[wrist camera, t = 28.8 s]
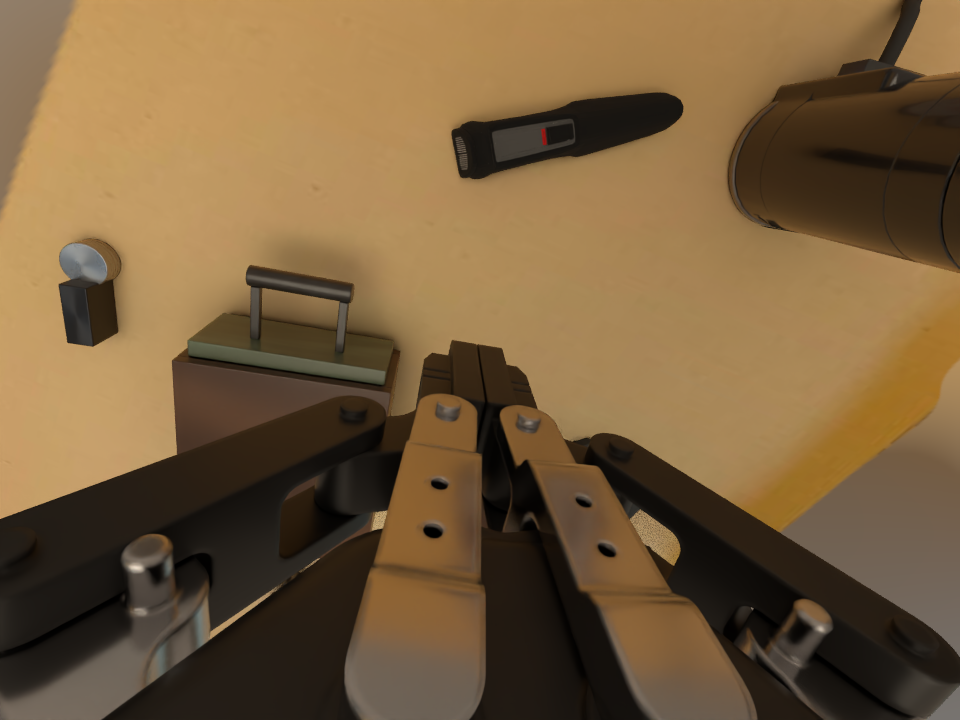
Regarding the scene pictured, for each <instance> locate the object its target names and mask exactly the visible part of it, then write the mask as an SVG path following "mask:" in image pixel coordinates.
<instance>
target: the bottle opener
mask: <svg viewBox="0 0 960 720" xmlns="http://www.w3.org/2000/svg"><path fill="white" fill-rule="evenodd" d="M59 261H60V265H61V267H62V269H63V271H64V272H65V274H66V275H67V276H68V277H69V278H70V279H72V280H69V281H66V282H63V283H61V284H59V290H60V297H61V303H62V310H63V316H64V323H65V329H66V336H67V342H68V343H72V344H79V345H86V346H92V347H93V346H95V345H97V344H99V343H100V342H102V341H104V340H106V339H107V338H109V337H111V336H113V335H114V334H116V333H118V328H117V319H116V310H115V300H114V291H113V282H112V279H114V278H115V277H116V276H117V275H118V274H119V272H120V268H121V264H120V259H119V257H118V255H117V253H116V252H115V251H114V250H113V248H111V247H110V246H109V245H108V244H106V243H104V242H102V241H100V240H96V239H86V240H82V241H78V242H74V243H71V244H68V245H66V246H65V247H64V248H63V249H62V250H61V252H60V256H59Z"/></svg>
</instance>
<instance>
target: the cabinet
mask: <svg viewBox="0 0 960 720" xmlns="http://www.w3.org/2000/svg"><path fill="white" fill-rule="evenodd" d="M399 357H400V351H397V350H393V353H392V357H391V361H390V365H389V369H388V373H387V377H386V380H385V384H384V385H379V386H374V385H368V384H361V383H354V382H348V381H341V380H334V379H328V378H321V377H314V376H308V375H301V374H295V373H288V372H281V371H275V370H268V369H261V368H255V367H248V366H242V365H235V364H228V363H222V362H215V361H214V360H213V359H207V358H200V357H193V356H188V348H187V349H185V350H184V351H183V352H182V353H180V354H179V355H178V356H177V357H176V358H174V359H173V360H172V371H173V388H174V406H175V424H176V441H177V455H178V454H180V453H183V452H186V451H189V450H191V449H194V448H197V447H200V446H202V445H205V444H208V443H211V442H213V441H216V440H219V439H221V438H224V437H227V436H230V435H232V434H235V433H238V432H241V431H243V430H246V429H249V428H252V427H254V426H257V425H260V424H263V423H265V422H268V421H271V420H274V419H276V418H279V417H282V416H285V415H287V414H290V413H293V412H296V411H298V410H301V409H304V408H307V407H309V406H312V405H315V404H318V403H320V402H323V401H326V400H328V399H331V398H334V397H339V396H347V395H353V396H361V397H366V398H369V399H372V400H374V401H376V402H378V403H379V404H381V405H382V406H383V407H384V409H385V410H386V417H388V416H391V410H392V403H393V396H394V390H395V383H396V377H397V370H398V364H399ZM315 480H316V477H314V478H312V479H310V480H308V481H306V482H305V483H303V484H301V485H299V486H297V487H296V488H294V489H293V490H292V491H291V492H290V493H289V494H288V496H287V497H286V498H285V500H287V499H289V498H291V497H293V496H295V495H297V494H299V493H301V492H302V491H304V490H306V489H308V488H310V487H312V486H314V485H315ZM285 500H284V501H285ZM374 517H375V512H372V516H371V519H370V521H369V522H368V523H367V524H366V525H365V526H364V527H363V528H362V529H360V530H359V531H357V532H356V533H354V534H353V535H351V536H350V537H348V538H347V539H345V540H344V541H342V542H341V543H340V544H338V545H337V546H339V545H341V544H343V543H344V542H346V541H348V540H350V539H352V538H354V537H357V536H359V535H362V534H364V533H367V532H371V531H372V527H373V522H374ZM337 546H335V547H334V548H336V547H337ZM334 548H332V549H331V550H329V551H328V552H326V553H325V554H323V555H322V556H320V557H319V558H322V557H323V556H325V555H326V554H327V553H329V552H330V551H332V550H333V549H334Z"/></svg>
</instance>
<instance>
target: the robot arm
mask: <svg viewBox="0 0 960 720" xmlns="http://www.w3.org/2000/svg"><path fill="white" fill-rule="evenodd" d="M921 2H922V0H905V1H904V3H903V5H902V8H901V13H900V17H899V20H898V22H897V24H896V26H895V28H894V31H893V33H892V35H891V37H890V39H889V41H888V43H887V45H886V47H885V49H884V51H883V53H882V55H881V57H880V59H879V61H876V60H872V59H866V60H861V61H856V62H851V63H846V64H843V65H842V67H841V69H840V71H839V74H838V76H836V77H831V78H825V79H819V80H813V81H807V82H801V83H795V84H790V85H784V86H781V87H780V88H779V90H778V93H777V95H776V97H775V99H774V101H773V102H772V103H771V104H769V105H768V106H767V107H765V108H764V109H763V110H761V111H760V112H759V113H758V114H757V115H756V116H755V117H754V118H753V119H752V120H751V122H750V123H749V124H748V125H747V127H746V128H745V129H744V131H743V132H742V134H741V136H740V138H739V139H738V141H737V143H736V146H735V148H734V151H733V154H732V157H731V161H730V167H729V188H730V192H731V196H732V199H733V201H734V203H735V205H736V206H737V208H738V209H739V211H740V212H741V213H742V214H743V215H744V216H745V217H747V218H748V219H750V220H751V221H753V222H755V223H758V224H761V225H765V226H764V227H766V226H770V227H768V228H772V227H776V228H773V229H778V228H780V229H779V230H784V229H786V230H785V231H791V232H797V233H802V234H806V235H810V236H814V237H818V238H822V239H826V240H830V241H834V242H838V243H842V244H846V245H850V246H854V247H857V248H861V249H865V250H869V251H873V252H877V253H881V254H885V255H889V256H893V257H897V258H901V259H905V260H909V261H913V262H917V263H921V264H925V265H929V266H933V267H937V268H941V269H945V270H949V271H953V272H957V273H960V72H954V73H947V74H940V75H933V76H926V75H924V74H920V73H917V72H913V71H910V70H906V69H903V68H900V67H896V66H894V65H895V63H896V61H897V59H898V57H899V55H900V53H901V51H902V49H903V47H904V45H905V43H906V41H907V39H908V37H909V35H910V33H911V31H912V29H913V27H914V24H915V22H916V20H917V18H918V15H919V12H920V5H921ZM761 225H760V226H761ZM314 477H316V480H315V485H314V486H312V487H310V488H308V489H306V490H304V491H302V492H301V493H299V494H297V495H295V496H293V497H291V498H289V499H287V500H285V498H286V497H287V496H288V494H289V493H290V492H291V491H292V490H293V489H294V488H296V487H297V486H299V485H301V484H303V483H305V482H306V481H308V480H310V479H312V478H314ZM284 500H285V501H284ZM632 503H633V504H634V505H636V506H637V507H638V508H640V509H641V510H643V511H644V512H645V513H647V514H648V515H649V516H651V517H652V518H654V519H655V520H656V521H658V522H659V523H661V524H662V525H663V526H665V527H666V528H668V529H669V530H670V531H671V532H673V533H674V535H675V536H676V537H677V539H678V541H679V543H680V548H681V551H680V555H679V557H678V559H677V561H676V563H675V565H674V566H673V565H671V564H670V563H668V562H667V561H666V560H664V559H663V558H662V557H661V556H659V555H658V554H657V553H655V552H654V551H653V550H651V549H650V548H649V547H648V546H646V545H645V544H644V543H643V542H642V540H641V538H640V536H639V535H638V533H637V531H636V530H635V528H634V526H633V524H632V523H631V521H630V519H629V517H628V516H627V515H628V513H629V511H630V508H631V506H632ZM387 510H388V512H387V515H386V519H385V523H384V527H383V529H378V530H374V531H371V532H367V533H364V534H362V535H359V536H357V537H354V538H352V539H350V540H348V541H346V542H344V543H343V544H341V545H339V546H337V545H338V544H340V543H341V542H342V541H344V540H345V539H347V538H348V537H350V536H351V535H353V534H354V533H356V532H357V531H359V530H360V529H362V528H363V527H364V526H365V525H366V524H367V523H368V522H369V521H370V519H371V516H372V512H379V511H387ZM335 546H337V547H336V548H334V547H335ZM332 548H334V549H333V550H332V551H330V552H329V553H327V554H326V555H325V556H323V557H322V558H321V559H319V560H318V561H317V562H315V563H314V564H313V565H311V566H310V567H308V568H307V569H306V570H304V571H303V572H302V573H300V574H299V575H298V576H296V577H295V578H293V579H292V580H291V581H289V582H288V583H287V584H285V585H284V586H283V587H281V588H280V589H278V590H277V591H276V592H274V593H273V594H272V595H270V596H269V597H268V598H266V599H265V600H263V601H262V602H261V603H259V604H258V605H257V606H255V607H254V608H253V609H251V610H250V611H248V612H247V613H246V614H244V615H243V616H242V617H240V618H239V619H238V620H236V621H235V622H233V623H232V624H231V625H229V626H228V627H227V628H225V629H224V630H223V631H221V632H220V633H218V634H217V635H216V636H214V637H213V638H212V639H210V640H209V638H210V631H212V630H213V629H215V628H216V627H218V626H219V625H221V624H222V623H224V622H225V621H227V620H228V619H229V618H231V617H232V616H234V615H235V614H237V613H238V612H240V611H241V610H243V609H244V608H246V607H247V606H249V605H250V604H251V603H253V602H254V601H256V600H257V599H259V598H260V597H262V596H263V595H265V594H266V593H268V592H269V591H271V590H272V589H274V588H275V587H276V586H278V585H279V584H281V583H282V582H284V581H285V580H287V579H288V578H290V577H291V576H293V575H294V574H296V573H297V572H298V571H300V570H301V569H303V568H304V567H306V566H307V565H309V564H310V563H312V562H313V561H315V560H316V559H318V558H319V557H320V556H322V555H323V554H325V553H326V552H328V551H329V550H331V549H332ZM750 607H752V608H754V609H753V611H752V609H751V608H750ZM959 686H960V657H959V656H958V654H957V653H956V652H955V650H954V649H953V648H952V647H951V646H950V645H949V644H948V643H947V642H946V641H945V640H944V639H943V638H942V637H941V636H940V635H939V634H938V633H936V632H935V631H934V630H933V629H932V628H930V627H929V626H927V625H926V624H925V623H923V622H922V621H920V620H919V619H917V618H916V617H914V616H913V615H911V614H909V613H908V612H906V611H905V610H903V609H901V608H900V607H898V606H896V605H895V604H893V603H892V602H890V601H889V600H887V599H885V598H884V597H882V596H881V595H879V594H877V593H876V592H874V591H872V590H871V589H869V588H867V587H866V586H864V585H863V584H861V583H860V582H858V581H856V580H855V579H853V578H852V577H850V576H848V575H847V574H845V573H844V572H842V571H840V570H839V569H837V568H835V567H834V566H832V565H831V564H829V563H827V562H826V561H824V560H823V559H821V558H819V557H818V556H816V555H815V554H813V553H811V552H810V551H808V550H807V549H805V548H803V547H802V546H800V545H798V544H797V543H795V542H794V541H792V540H790V539H788V538H787V537H786V536H784V535H782V534H781V533H779V532H778V531H776V530H774V529H773V528H771V527H770V526H768V525H766V524H765V523H763V522H762V521H760V520H758V519H757V518H755V517H753V516H752V515H750V514H749V513H747V512H745V511H744V510H742V509H741V508H739V507H737V506H736V505H734V504H733V503H731V502H729V501H728V500H726V499H725V498H723V497H721V496H720V495H718V494H716V493H715V492H713V491H712V490H710V489H708V488H707V487H705V486H704V485H702V484H700V483H699V482H697V481H696V480H694V479H692V478H691V477H689V476H688V475H686V474H684V473H683V472H681V471H680V470H678V469H676V468H675V467H673V466H671V465H670V464H668V463H667V462H665V461H663V460H662V459H660V458H659V457H657V456H655V455H654V454H652V453H651V452H649V451H647V450H646V449H644V448H643V447H641V446H639V445H638V444H636V443H634V442H633V441H631V440H629V439H627V438H624V437H622V436H618V435H615V434H609V433H600V434H596V435H594V436H593V437H592V438H591V440H590V443H589V446H588V447H586V446H583V445H580V444H577V443H574V442H571V441H568V440H565V439H563V437H562V435H561V433H560V431H559V429H558V427H557V425H556V423H555V422H554V420H553V419H552V418H551V417H550V416H548V415H547V414H545V413H544V412H542V411H540V410H538V409H537V406H536V403H535V400H534V397H533V394H532V391H531V388H530V386H529V382H528V380H527V377H526V375H525V374H524V373H523V372H522V371H521V370H520V369H519V368H518V367H516V366H510V365H506V361H505V357H504V354H503V350H502V348H497V347H491V346H485V345H479V344H478V345H476V344H473V343H467V342H461V341H455V340H452V341H451V345H450V349H449V354H448V355H442V354H436V353H432V354H430V355H429V356H428V357H427V358H425V359H424V364H423V370H422V375H421V381H420V387H419V392H418V398H417V404H416V410H414V411H413V412H410V413H408V414H405V415H400V416H388V417H386V410H385V409H384V407H383V406H382V405H381V404H379V403H378V402H376V401H374V400H372V399H369V398H366V397H361V396H353V395H347V396H339V397H334V398H331V399H328V400H326V401H323V402H320V403H318V404H315V405H312V406H309V407H307V408H304V409H301V410H298V411H296V412H293V413H290V414H287V415H285V416H282V417H279V418H276V419H274V420H271V421H268V422H265V423H263V424H260V425H257V426H254V427H252V428H249V429H246V430H243V431H241V432H238V433H235V434H232V435H230V436H227V437H224V438H221V439H219V440H216V441H213V442H211V443H208V444H205V445H202V446H200V447H197V448H194V449H191V450H189V451H186V452H183V453H180V454H178V455H175V456H172V457H169V458H167V459H164V460H161V461H158V462H156V463H153V464H150V465H147V466H145V467H142V468H139V469H136V470H134V471H131V472H128V473H125V474H123V475H120V476H117V477H114V478H112V479H109V480H106V481H103V482H101V483H98V484H95V485H93V486H90V487H87V488H84V489H82V490H79V491H76V492H73V493H71V494H68V495H65V496H62V497H60V498H57V499H54V500H51V501H49V502H46V503H43V504H40V505H38V506H35V507H32V508H29V509H27V510H24V511H21V512H18V513H16V514H13V515H10V516H7V517H5V518H2V519H0V720H927V719H928V718H929V717H930V716H931V714H933V713H934V712H935V711H936V710H937V709H938V708H939V707H940V706H941V704H942V703H943V702H944V701H945V700H946V699H947V698H948V697H949V696H950V695H951V694H952V693H953V692H954V691H955V690H956V689H957V688H958V687H959Z"/></svg>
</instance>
